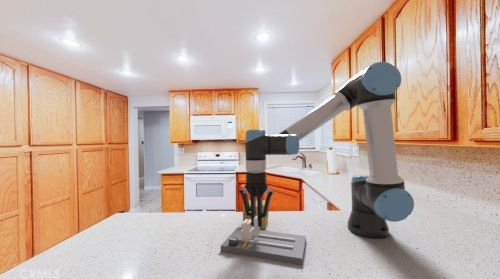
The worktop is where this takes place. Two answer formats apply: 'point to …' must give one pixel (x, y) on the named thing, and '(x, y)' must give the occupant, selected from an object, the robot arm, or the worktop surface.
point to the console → (268, 246)
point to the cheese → (264, 219)
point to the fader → (247, 230)
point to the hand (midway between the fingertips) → (256, 234)
